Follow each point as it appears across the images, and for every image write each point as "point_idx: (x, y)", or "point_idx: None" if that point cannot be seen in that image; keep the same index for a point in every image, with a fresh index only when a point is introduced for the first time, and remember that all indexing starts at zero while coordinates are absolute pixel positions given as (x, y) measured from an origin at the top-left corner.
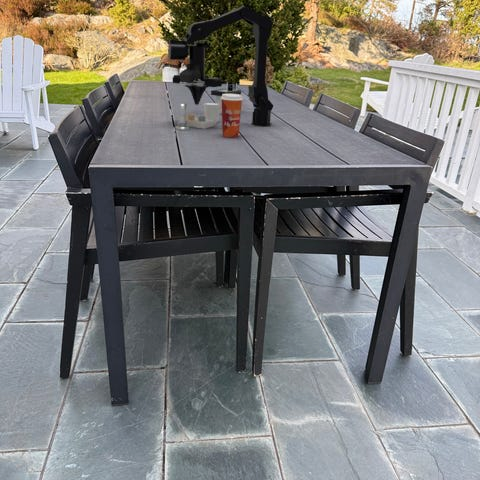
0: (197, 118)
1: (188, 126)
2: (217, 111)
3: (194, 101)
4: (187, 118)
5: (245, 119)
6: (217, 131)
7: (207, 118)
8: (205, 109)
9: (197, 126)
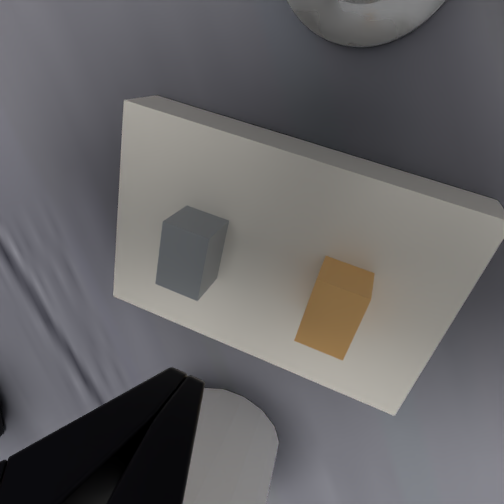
0: (286, 352)
1: (295, 2)
2: None
3: (190, 418)
4: (391, 328)
5: None
6: (15, 30)
7: (231, 418)
8: (221, 497)
9: (224, 118)
